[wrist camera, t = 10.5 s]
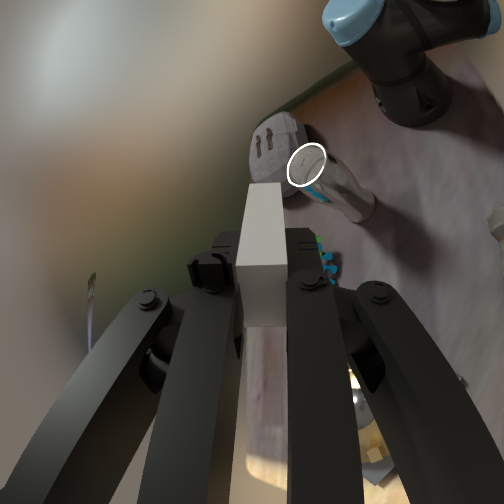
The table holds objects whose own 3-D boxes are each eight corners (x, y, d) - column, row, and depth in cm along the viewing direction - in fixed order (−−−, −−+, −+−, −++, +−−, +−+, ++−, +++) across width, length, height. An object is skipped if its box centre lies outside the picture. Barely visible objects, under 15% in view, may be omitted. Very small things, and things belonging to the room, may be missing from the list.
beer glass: (354, 233, 44) (297, 199, 34) (335, 204, 48) (278, 167, 38) (385, 206, 40) (337, 160, 31) (364, 179, 44) (312, 132, 35)
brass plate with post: (301, 380, 42) (230, 389, 33) (386, 322, 34) (333, 317, 25) (340, 469, 31) (274, 507, 22) (441, 425, 24) (409, 475, 14)
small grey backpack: (263, 146, 69) (267, 213, 61) (238, 131, 63) (237, 200, 56) (309, 116, 59) (324, 185, 51) (285, 96, 53) (296, 166, 46)
